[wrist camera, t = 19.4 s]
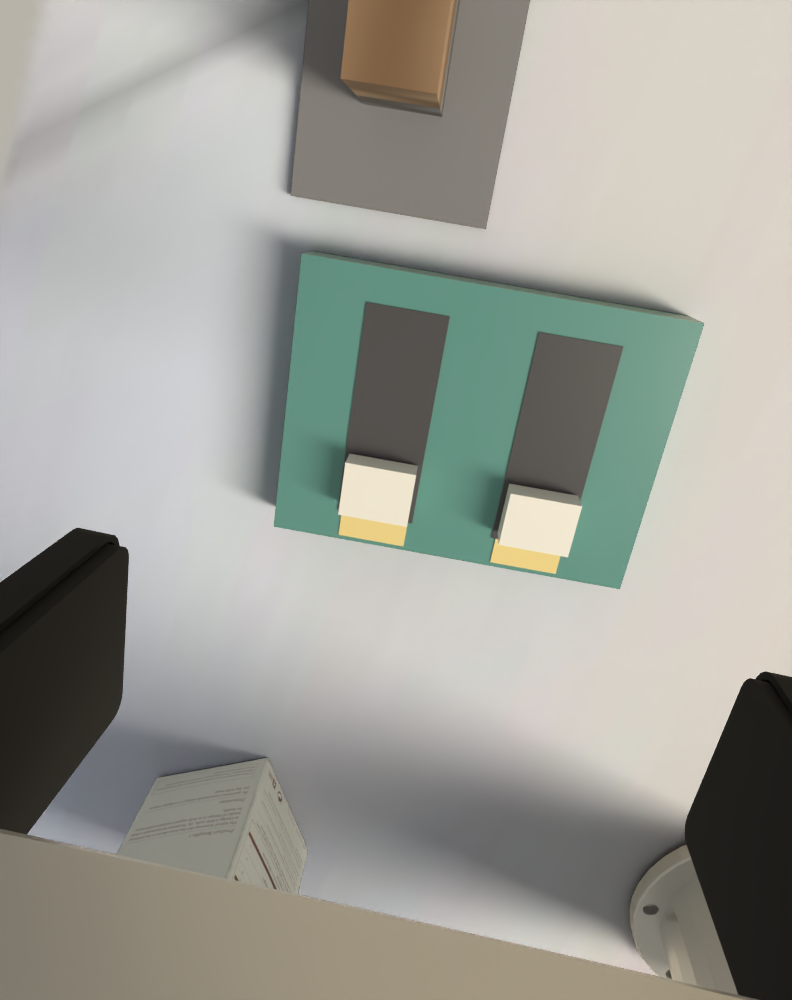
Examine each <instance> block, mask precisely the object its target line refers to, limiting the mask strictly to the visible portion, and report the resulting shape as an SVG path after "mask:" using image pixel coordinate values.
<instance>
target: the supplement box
mask: <svg viewBox="0 0 792 1000" xmlns="http://www.w3.org/2000/svg"><path fill="white" fill-rule="evenodd" d="M307 853H308V850H307V847H306V845H305V842H304V840H303V837H302V835H301V832H300V830H299V828H298V826H297V823H296V821H295V818H294V816H293V814H292V812H291V809H290V807H289V805H288V802H287V800H286V798H285V795H284V793H283V791H282V788H281V786H280V784H279V781H278V779H277V777H276V775H275V773H274V770H273V768H272V766H271V764H270V761H269V760H268V758H263V759H258V760H253V761H247V762H242V763H237V764H231V765H226V766H220V767H215V768H209V769H204V770H198V771H193V772H187V773H182V774H176V775H171V776H165V777H159V778H156V780H155V782H154V784H153V786H152V788H151V789H150V791H149V793H148V795H147V797H146V799H145V801H144V803H143V805H142V806H141V808H140V810H139V812H138V814H137V816H136V818H135V820H134V822H133V824H132V825H131V827H130V829H129V831H128V833H127V835H126V837H125V839H124V841H123V843H122V845H121V846H120V848H119V850H118V852H117V855H122V856H126V857H131V858H135V859H140V860H144V861H149V862H154V863H158V864H163V865H167V866H172V867H176V868H181V869H185V870H190V871H195V872H199V873H204V874H208V875H213V876H217V877H222V878H226V879H231V880H235V881H240V882H244V883H249V884H254V885H258V886H263V887H267V888H272V889H276V890H281V891H285V892H290V893H294V894H298V892H299V888H300V883H301V879H302V875H303V871H304V866H305V862H306V858H307Z"/></svg>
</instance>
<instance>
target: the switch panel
mask: <svg viewBox="0 0 792 1000" xmlns="http://www.w3.org/2000/svg"><path fill="white" fill-rule="evenodd" d="M703 326H704V323H702V322H700V321H698V320H696V319H694V318H692V317H690V316H685V315H679V314H673V313H667V312H661V311H656V310H650V309H644V308H638V307H633V306H627V305H621V304H615V303H609V302H604V301H598V300H592V299H586V298H581V297H575V296H569V295H563V294H558V293H552V292H546V291H540V290H534V289H529V288H523V287H517V286H511V285H506V284H500V283H494V282H488V281H482V280H477V279H471V278H465V277H459V276H454V275H448V274H442V273H436V272H431V271H425V270H419V269H413V268H407V267H402V266H396V265H390V264H384V263H379V262H373V261H367V260H361V259H355V258H350V257H344V256H338V255H332V254H327V253H321V252H315V251H309V252H306V253H302V254H301V264H300V274H299V283H298V293H297V303H296V313H295V323H294V333H293V343H292V352H291V362H290V372H289V382H288V392H287V402H286V412H285V421H284V431H283V441H282V451H281V461H280V471H279V481H278V490H277V500H276V510H275V520H274V527H280V528H285V529H291V530H296V531H302V532H307V533H313V534H318V535H324V536H329V537H335V538H340V539H346V540H351V541H357V542H362V543H368V544H374V545H379V546H385V547H390V548H396V549H401V550H407V551H412V552H418V553H423V554H429V555H434V556H440V557H445V558H451V559H456V560H462V561H467V562H473V563H478V564H484V565H489V566H495V567H500V568H506V569H511V570H517V571H523V572H528V573H534V574H539V575H545V576H550V577H556V578H561V579H567V580H572V581H578V582H583V583H589V584H594V585H600V586H605V587H611V588H616V589H620V587H621V583H622V580H623V577H624V574H625V571H626V568H627V565H628V561H629V558H630V555H631V552H632V549H633V546H634V543H635V539H636V536H637V533H638V530H639V527H640V524H641V521H642V517H643V514H644V511H645V508H646V505H647V502H648V499H649V495H650V492H651V489H652V486H653V483H654V480H655V477H656V474H657V470H658V467H659V464H660V461H661V458H662V455H663V452H664V448H665V445H666V442H667V439H668V436H669V433H670V430H671V426H672V423H673V420H674V417H675V414H676V411H677V408H678V404H679V401H680V398H681V395H682V392H683V389H684V386H685V382H686V379H687V376H688V373H689V370H690V367H691V364H692V361H693V357H694V354H695V351H696V348H697V345H698V342H699V339H700V335H701V332H702V329H703ZM349 454H355V455H360V456H366V457H372V458H377V459H383V460H388V461H394V462H399V463H405V464H411V465H416V466H418V468H417V474H416V479H415V485H414V491H413V496H412V502H411V507H410V513H409V518H408V524H407V527H404V526H399V525H393V524H388V523H382V522H377V521H371V520H365V519H360V518H354V517H349V516H343V515H338V512H339V505H340V498H341V491H342V484H343V476H344V469H345V462H346V460H347V458H348V456H349ZM509 484H515V485H520V486H526V487H532V488H537V489H543V490H548V491H554V492H560V493H565V494H571V495H576V496H578V497H579V500H580V502H581V505H582V509H581V513H580V516H579V520H578V523H577V527H576V530H575V534H574V538H573V541H572V545H571V548H570V552H569V555H568V557H563V556H557V555H552V554H546V553H541V552H535V551H530V550H524V549H519V548H513V547H508V546H502V545H499V544H498V534H497V533H498V529H499V524H500V520H501V516H502V512H503V507H504V503H505V499H506V495H507V490H508V486H509Z"/></svg>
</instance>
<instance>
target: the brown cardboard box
mask: <svg viewBox="0 0 792 1000" xmlns="http://www.w3.org/2000/svg"><path fill="white" fill-rule="evenodd" d="M459 5H460V0H349V2H348V12H347V22H346V31H345V41H344V50H343V60H342V69H341V80H342V81H343V82H344V83H345V84H346V85H347V86H348V87H349V88H350V89H351V90H352V91H353V92H354V93H355V94H356V96H357V97H358V98H359V99H360V100H361V101H362V102H363V103H364V104H365V105H371V106H377V107H383V108H389V109H396V110H402V111H408V112H414V113H420V114H427V115H433V116H439V117H442V114H443V108H444V101H445V95H446V88H447V82H448V76H449V69H450V63H451V56H452V50H453V43H454V37H455V31H456V24H457V18H458V11H459Z"/></svg>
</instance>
